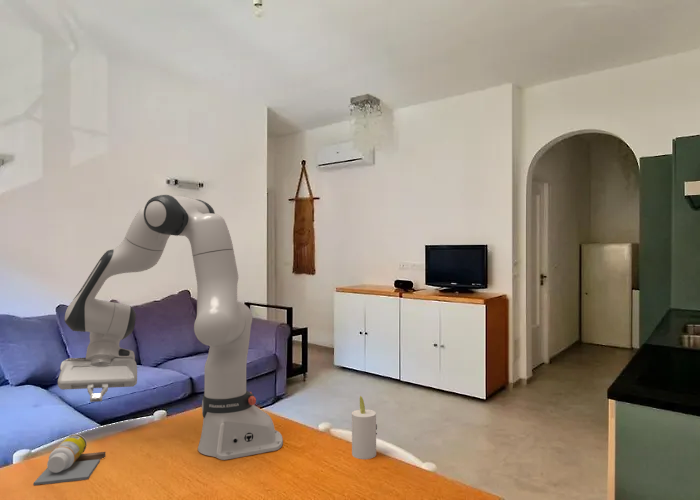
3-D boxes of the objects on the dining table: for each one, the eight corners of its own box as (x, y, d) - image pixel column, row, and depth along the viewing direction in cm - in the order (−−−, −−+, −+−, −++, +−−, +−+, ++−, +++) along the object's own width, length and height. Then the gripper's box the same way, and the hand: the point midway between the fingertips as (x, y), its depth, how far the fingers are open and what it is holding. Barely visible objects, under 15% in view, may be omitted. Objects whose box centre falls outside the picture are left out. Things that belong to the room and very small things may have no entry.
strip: (105, 456, 118) (105, 451, 118) (103, 458, 117) (103, 454, 117) (53, 461, 115) (53, 456, 115) (50, 464, 114) (50, 459, 114)
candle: (380, 457, 116) (380, 397, 117) (356, 460, 114) (355, 400, 115) (372, 447, 122) (371, 391, 123) (349, 450, 120) (348, 393, 121)
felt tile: (99, 461, 115) (100, 459, 115) (87, 479, 105) (87, 476, 105) (50, 466, 112) (50, 464, 112) (33, 485, 103) (33, 482, 103)
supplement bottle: (72, 458, 116) (52, 480, 106) (59, 441, 116) (38, 461, 106) (92, 446, 117) (73, 467, 107) (79, 428, 116) (59, 448, 106)
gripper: (61, 352, 131) (51, 397, 122) (139, 351, 139) (135, 393, 130) (63, 364, 135) (53, 408, 126) (139, 362, 143) (135, 403, 134)
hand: (95, 400), depth 128 cm, fingers closed
